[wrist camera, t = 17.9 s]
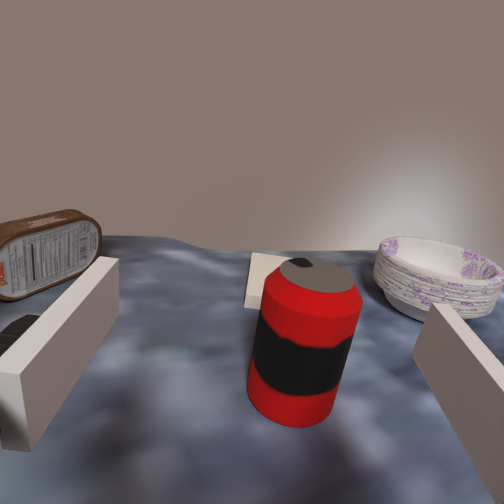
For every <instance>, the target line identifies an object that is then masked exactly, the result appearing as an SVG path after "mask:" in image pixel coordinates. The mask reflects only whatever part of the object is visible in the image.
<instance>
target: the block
mask: <svg viewBox="0 0 504 504" xmlns="http://www.w3.org/2000/svg"><path fill="white" fill-rule="evenodd" d="M289 259H293V258H287V257H280V256H273V255H267V254H260V253H253V252H252V258H251V264H250V271H249V278H248V284H247V291H246V298H245V304H244V307H245V308H252V309H258V310H260V305H261V299H262V293H263V287H264V281H265V278H266V277H267V276H268V275H269V274H270V273H271V272H272V271H274V270H275V269H276V268H277V267H279V266H280V265H281V263H282V262H284V261H286V260H289Z"/></svg>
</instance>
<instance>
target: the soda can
mask: <svg viewBox="0 0 504 504" xmlns="http://www.w3.org/2000/svg"><path fill="white" fill-rule="evenodd" d="M362 303H363V301H362V297H361V295H360V293H359V291H358V289H357V287H356V285H355V283H354V279H353V277H352V276H351V275H350V274H349V273H348V272H347V271H345V270H344V269H342V268H340V267H339V266H336V265H334V264H332V263H329V262H326V261H322V260H317V259H311V258H293V259H289V260H286V261H284V262H282V263H281V265H280V266H279V267H277V268H276V269H275V270H274V271H272V272H271V273H270V274H269V275H268V276H267V277H266V278H265V281H264V287H263V293H262V299H261V305H260V311H259V317H258V323H257V329H256V335H255V341H254V347H253V353H252V359H251V365H250V371H249V378H248V384H247V389H248V394H249V397H250V399H251V401H252V403H253V404H254V406H255V407H256V408H257V409H258V410H259V411H260V412H261V413H262V414H263V415H264V416H266V417H267V418H269V419H270V420H272V421H274V422H276V423H278V424H281V425H284V426H289V427H308V426H312V425H315V424H318V423H319V422H321V421H323V420H324V419H325V418H326V417H327V416H328V415H329V414H330V412H331V410H332V407H333V404H334V400H335V397H336V393H337V390H338V387H339V383H340V380H341V376H342V373H343V369H344V366H345V363H346V359H347V356H348V352H349V349H350V346H351V342H352V339H353V335H354V332H355V328H356V325H357V322H358V318H359V315H360V311H361V308H362Z"/></svg>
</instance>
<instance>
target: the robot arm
mask: <svg viewBox="0 0 504 504" xmlns="http://www.w3.org/2000/svg"><path fill="white" fill-rule="evenodd" d="M118 316H119V259H116V258H109V257H102V256H100V257H99V258H98V259H97V260H96V261H95V262H94V263H93V264H92V265H91V266H90V267H89V268H88V269H87V270H86V271H85V272H84V273H83V274H82V275H81V276H80V277H79V278H78V279H77V280H76V281H75V282H74V283H73V284H72V285H71V286H70V287H69V288H68V289H67V290H66V291H65V292H64V293H63V294H62V295H61V296H60V297H59V298H58V299H57V300H56V301H55V302H54V303H53V304H52V305H51V306H50V307H49V308H48V309H47V310H46V311H45V312H44V313H43V314H42V315H41V316H36V315H28V314H27V315H25V316H24V317H22V318H20V319H18V320H16V321H14V322H12V323H11V324H9V325H8V326H7V327H6V328H5V329H4V330H3V331H2V332H1V333H0V437H1V442H2V448H3V449H7V450H16V451H24V452H32V450H33V449H34V447H35V446H36V444H37V443H38V441H39V440H40V438H41V436H42V435H43V433H44V432H45V430H46V429H47V427H48V426H49V424H50V422H51V421H52V419H53V418H54V416H55V415H56V413H57V411H58V410H59V408H60V407H61V405H62V404H63V402H64V401H65V399H66V397H67V396H68V394H69V393H70V391H71V390H72V388H73V387H74V385H75V383H76V382H77V380H78V379H79V377H80V376H81V374H82V372H83V371H84V369H85V368H86V366H87V365H88V363H89V362H90V360H91V358H92V357H93V355H94V354H95V352H96V351H97V349H98V348H99V346H100V344H101V343H102V341H103V340H104V338H105V337H106V335H107V334H108V332H109V330H110V329H111V327H112V326H113V324H114V323H115V321H116V319H117V318H118ZM411 355H412V357H413V358H414V360H415V362H416V364H417V365H418V367H419V369H420V371H421V373H422V374H423V376H424V378H425V380H426V381H427V383H428V385H429V387H430V388H431V390H432V392H433V394H434V396H435V397H436V399H437V401H438V403H439V404H440V406H441V408H442V410H443V411H444V413H445V415H446V417H447V419H448V420H449V422H450V424H451V426H452V427H453V429H454V431H455V433H456V434H457V436H458V438H459V440H460V442H461V443H462V445H463V447H464V449H465V450H466V452H467V454H468V456H469V457H470V459H471V461H472V463H473V465H474V466H475V468H476V470H477V472H478V473H479V475H480V477H481V479H482V481H483V482H484V484H485V486H486V488H487V489H488V491H489V493H490V495H491V496H492V498H493V500H494V502H495V504H504V366H503V365H502V364H501V363H500V362H499V360H498V359H497V358H496V357H495V356H494V355H493V354H492V352H491V351H490V350H489V349H488V348H487V347H486V346H485V344H484V343H483V342H482V341H481V340H480V339H479V338H478V336H477V335H476V334H475V333H474V332H473V331H472V330H471V328H470V327H469V326H468V325H467V324H466V323H465V322H464V320H463V319H462V318H461V317H460V316H459V315H458V314H457V312H456V311H455V310H454V309H453V308H452V307H451V306H450V305H447V304H440V303H433V302H432V304H431V306H430V309H429V311H428V314H427V316H426V319H425V321H424V324H423V326H422V329H421V331H420V334H419V336H418V339H417V341H416V344H415V346H414V349H413V351H412V354H411Z"/></svg>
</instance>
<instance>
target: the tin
mask: <svg viewBox="0 0 504 504" xmlns="http://www.w3.org/2000/svg"><path fill="white" fill-rule="evenodd" d="M101 243H102V232H101V227H100V226H99V224H98V223H97V222H96V221H95V220H94V219H93V218H91V217H89V216H87V215H84V214H83V213H81V212H80V211H77V210H73V209H67V210H61V211H57V212H52V213H47V214H43V215H38V216H34V217H29V218H24V219H19V220H14V221H9V222H5V223H1V224H0V300H5V301H14V300H20V299H23V298H26V297H28V296H31V295H33V294H35V293H38V292H40V291H43V290H45V289H48V288H50V287H52V286H55V285H57V284H60V283H62V282H65V281H67V280H70V279H72V278H74V277H77V276H79V275H81V274H83V273H84V272H85V271H86V270H87V269H88V268H89V267H90V266H91V265H92V264H93V263H94V262H95V261H96V259H97V258H98V256H99V253H100V250H101Z"/></svg>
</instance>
